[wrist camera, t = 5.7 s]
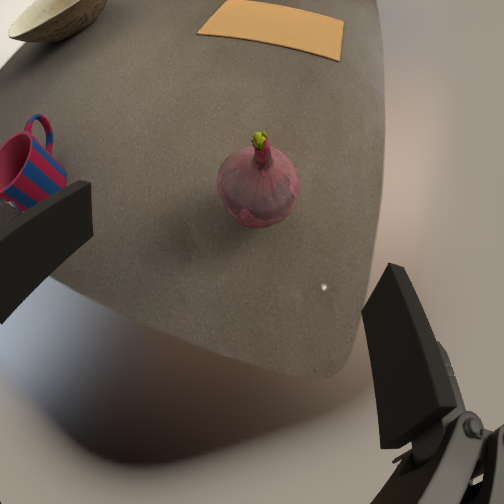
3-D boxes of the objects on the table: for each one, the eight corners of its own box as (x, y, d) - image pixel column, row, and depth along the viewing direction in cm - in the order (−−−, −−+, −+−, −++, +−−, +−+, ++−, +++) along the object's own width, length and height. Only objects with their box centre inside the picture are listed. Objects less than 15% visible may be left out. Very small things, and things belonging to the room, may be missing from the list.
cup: (16, 215, 23) (-22, 193, 16) (47, 139, 25) (19, 108, 19) (54, 221, 23) (13, 196, 16) (86, 137, 25) (59, 100, 19)
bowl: (38, 79, 28) (13, 40, 18) (17, 52, 31) (1, 25, 21) (150, 6, 33) (141, -35, 23) (101, -5, 36) (92, -34, 26)
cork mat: (343, 22, 33) (343, 21, 33) (339, 61, 30) (339, 60, 29) (228, -1, 33) (228, -2, 33) (196, 34, 30) (196, 33, 30)
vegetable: (258, 162, 25) (268, 84, 15) (305, 209, 24) (342, 145, 15) (205, 201, 24) (187, 130, 14) (252, 254, 23) (263, 207, 13)
